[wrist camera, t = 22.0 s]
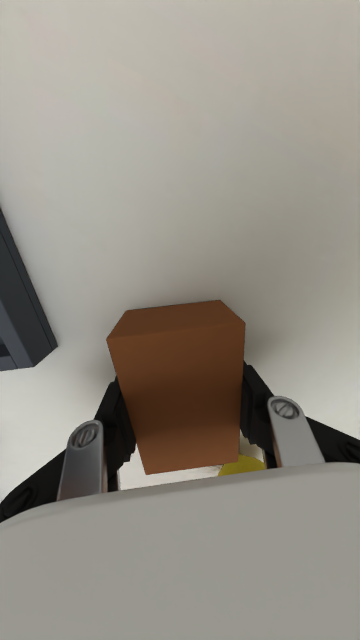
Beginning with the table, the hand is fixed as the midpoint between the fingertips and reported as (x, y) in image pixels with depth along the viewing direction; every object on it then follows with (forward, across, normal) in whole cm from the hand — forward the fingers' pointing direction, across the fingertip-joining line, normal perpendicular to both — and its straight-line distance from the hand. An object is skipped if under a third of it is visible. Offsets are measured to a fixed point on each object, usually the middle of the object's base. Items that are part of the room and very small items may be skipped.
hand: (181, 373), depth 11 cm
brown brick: (0, 0, 0) cm, 0 cm away
